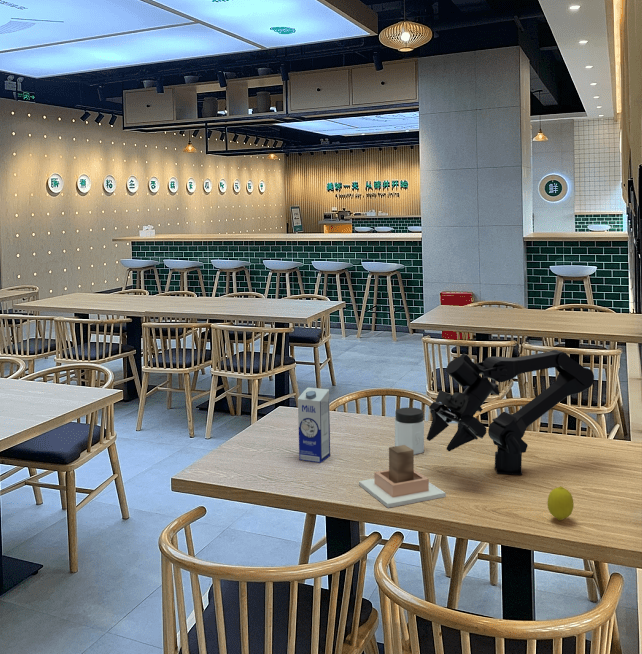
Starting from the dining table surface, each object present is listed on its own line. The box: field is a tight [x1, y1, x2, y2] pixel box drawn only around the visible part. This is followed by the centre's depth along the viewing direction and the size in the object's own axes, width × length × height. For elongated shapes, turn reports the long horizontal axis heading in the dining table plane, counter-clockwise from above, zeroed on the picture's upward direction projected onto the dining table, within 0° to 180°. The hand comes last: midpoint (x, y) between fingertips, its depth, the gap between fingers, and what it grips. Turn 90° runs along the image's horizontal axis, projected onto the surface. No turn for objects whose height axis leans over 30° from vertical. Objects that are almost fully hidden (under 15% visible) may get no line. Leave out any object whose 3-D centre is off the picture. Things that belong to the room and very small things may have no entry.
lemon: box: [547, 486, 574, 521], centre depth 159 cm, size 6×6×8 cm
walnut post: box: [388, 445, 415, 483], centre depth 177 cm, size 4×4×10 cm
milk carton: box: [297, 387, 331, 464], centre depth 202 cm, size 7×7×20 cm
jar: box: [394, 407, 425, 456], centre depth 207 cm, size 9×8×12 cm
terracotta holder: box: [358, 469, 447, 509], centre depth 178 cm, size 16×16×4 cm
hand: (437, 445), depth 181 cm, fingers open, 9 cm apart
